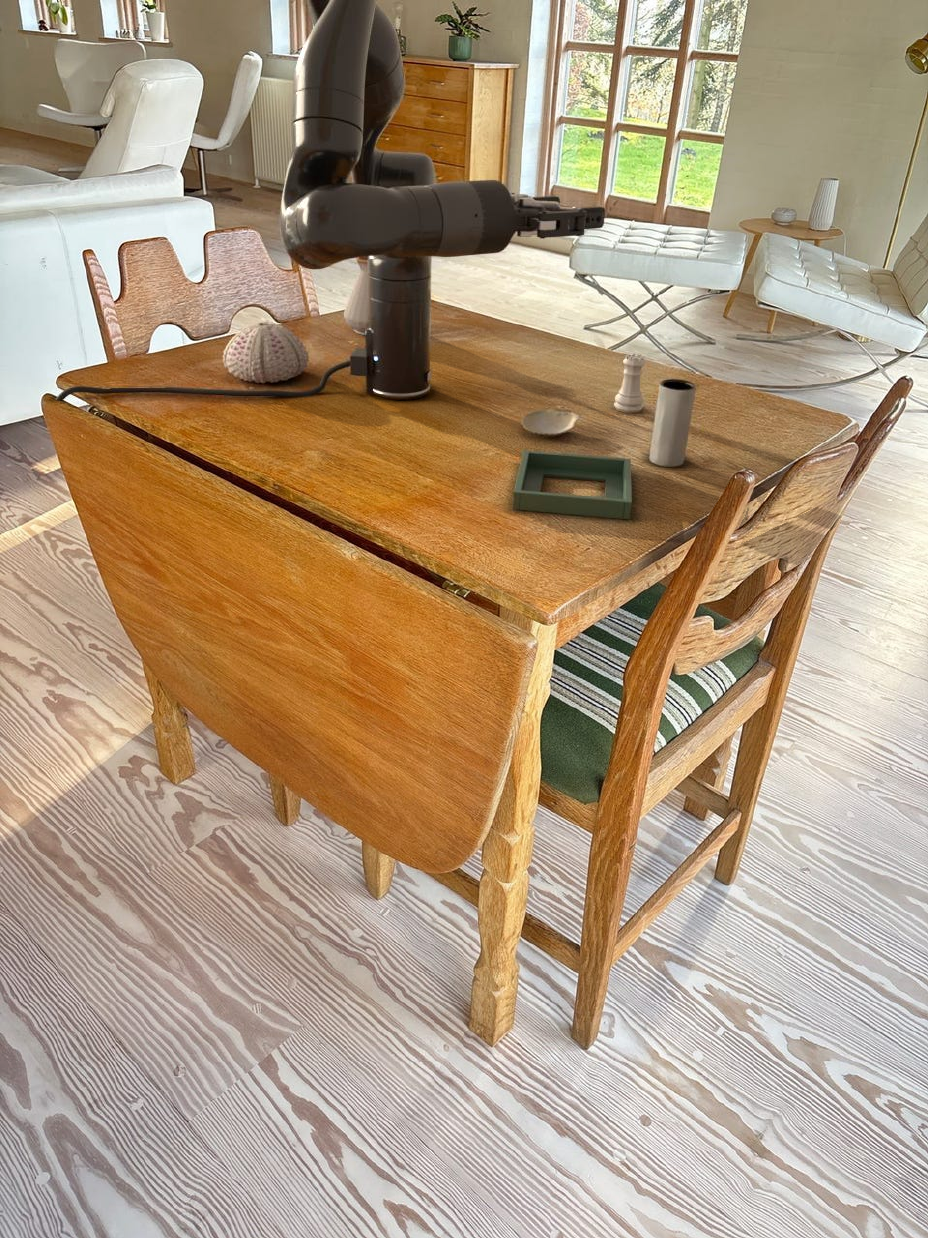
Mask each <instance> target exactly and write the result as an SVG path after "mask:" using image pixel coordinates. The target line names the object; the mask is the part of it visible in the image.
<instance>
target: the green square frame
mask: <svg viewBox="0 0 928 1238" xmlns="http://www.w3.org/2000/svg"><path fill="white" fill-rule="evenodd" d="M544 477H546V478H557V479H570V480H581V481H582V480H583V481H593V482H604V484H605V487H604V497H602V496H593V495H592V496H591V495H582V494H581V495H579V494H568V493H556V492H547V491H542V485H543V480H544ZM632 488H633V487H632V461H631V458H624V457H615V456H614V457H611V456H599V455H590V454H589V455H588V454H577V453H565V452H564V453H563V452H551V451H541V450H529V449H528V450H527V449H523V450H522V455H521V459H520V463H519V467H518V471H517V475H516V480H515V485H514V489H513V495H512V496H513V497H512V510H516V511H529V512H539V513H541V512H542V513H549V514H561V515H562V514H563V515H574V516H585V517H596V518H607V519H608V518H609V519H617V520H629V521H630V520H631V513H632V507H633V490H632Z"/></svg>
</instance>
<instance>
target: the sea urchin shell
mask: <svg viewBox="0 0 928 1238" xmlns="http://www.w3.org/2000/svg"><path fill="white" fill-rule="evenodd" d="M222 352H223V355H222V356H221V357H222V358H223V359H222V363H223V364H224V368H225V369H227V371H228V373H230V374H232V375H233V376H234V378H239V379H240V380H243V381H245V382H246V381H247V382H249V383H251V382H255V383H257V384H260V383H262V384H265V383H271V384H274V383H278V382H281V381H282V382H284V381H286V382H287V381H288V380H290V379H291V378H292V379H293V378H295V377H297V376H298V375H301V374H302V373H303V372H304V371H305V370H306V368H307V367H308V363H309V361H310V360H309V359H310V356H309V353H308V351H307V348H306V346H305V345H304V343H303V342H302V341H301V340H300V338H299V336H297V335H296V334H295V332H294V331H291V330H290V328H287V327H285V326H283V325H281V324H278V323H273V322H267V321H265V322H258V323H253V324H249V325H248V326H245V327H244V328H242V329H240V330H239V331H238V332H236V333H235V335H233V336H232V337H231V339H230V340H229V342H228V343H227V345H226V346H225V349H224V350H223V351H222Z"/></svg>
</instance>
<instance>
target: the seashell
mask: <svg viewBox="0 0 928 1238" xmlns="http://www.w3.org/2000/svg"><path fill="white" fill-rule="evenodd" d="M580 418H581V415H580V414H579V413H576V412H574V411H571V410H570V409H567V408H565V407H560V408H556V409H538V410H532V411H530V412H528V413H526V414H524V415H523V416H522V418H521V420H520V424H521V427H523V429H525V430H526V431H527V432H529V433H531V434H534V435H537V436H540V437H541V436H543V437H558V436H561V435H564V434H566V433H568V432H569V431H571V430H573V428H574V426H575V424H576V422H577V421H578V420H580Z"/></svg>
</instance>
